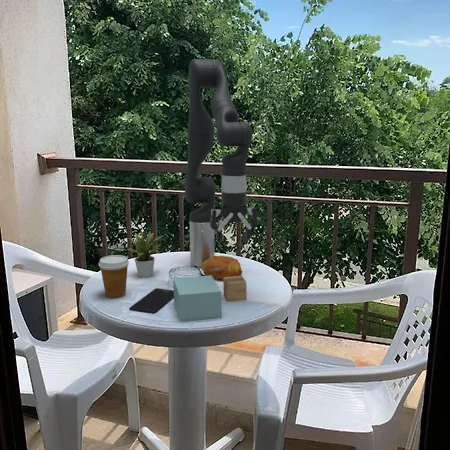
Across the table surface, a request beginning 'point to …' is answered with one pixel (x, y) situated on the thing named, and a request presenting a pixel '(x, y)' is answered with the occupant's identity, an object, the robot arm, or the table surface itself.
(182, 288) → the stand
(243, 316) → the table surface
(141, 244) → the house plant
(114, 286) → the disposable coffee cup
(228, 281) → the walnut cube
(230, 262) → the croissant
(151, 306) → the cell phone
